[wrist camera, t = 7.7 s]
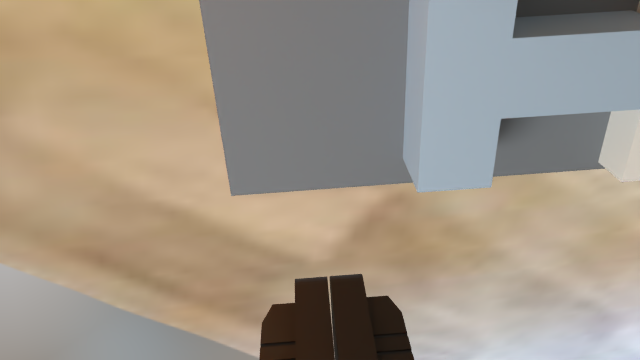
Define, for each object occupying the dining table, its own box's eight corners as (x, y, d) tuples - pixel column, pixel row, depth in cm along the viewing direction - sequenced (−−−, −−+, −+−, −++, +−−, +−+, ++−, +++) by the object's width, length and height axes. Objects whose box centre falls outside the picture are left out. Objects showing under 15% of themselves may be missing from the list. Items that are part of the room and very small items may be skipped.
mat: (731, -132, 24) (734, -132, 24) (641, 164, 32) (643, 165, 32) (183, -100, 23) (182, -99, 23) (231, 194, 31) (231, 195, 31)
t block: (402, 158, 30) (417, 192, 27) (411, -60, 25) (431, -52, 21) (597, 145, 31) (636, 177, 27) (652, -74, 25) (711, -68, 21)
